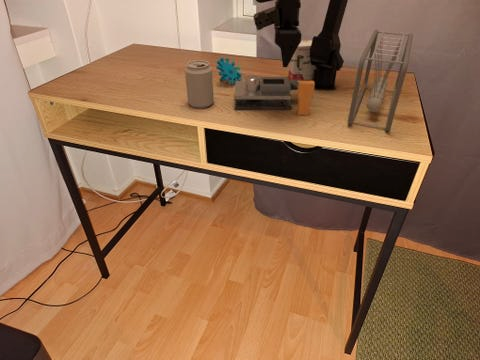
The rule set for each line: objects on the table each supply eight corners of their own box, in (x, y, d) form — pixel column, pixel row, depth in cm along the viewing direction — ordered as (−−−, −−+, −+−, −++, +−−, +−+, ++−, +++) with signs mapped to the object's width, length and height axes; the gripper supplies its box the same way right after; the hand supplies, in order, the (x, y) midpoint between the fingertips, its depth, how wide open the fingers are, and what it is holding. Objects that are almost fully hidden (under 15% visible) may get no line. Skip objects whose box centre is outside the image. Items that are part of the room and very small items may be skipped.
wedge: (309, 111, 100) (313, 80, 94) (310, 115, 98) (314, 83, 93) (295, 111, 100) (298, 80, 94) (296, 115, 98) (299, 83, 93)
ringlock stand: (305, 93, 110) (308, 70, 106) (311, 110, 100) (314, 86, 96) (236, 92, 110) (235, 70, 106) (234, 109, 101) (234, 86, 97)
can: (203, 111, 100) (200, 69, 93) (182, 105, 103) (178, 64, 96) (218, 102, 105) (217, 61, 98) (198, 96, 108) (195, 56, 101)
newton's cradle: (363, 86, 115) (375, 27, 104) (397, 91, 111) (413, 31, 101) (346, 127, 93) (359, 58, 82) (388, 135, 89) (408, 64, 79)
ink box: (292, 82, 117) (295, 45, 110) (287, 77, 120) (290, 41, 113) (317, 80, 118) (321, 44, 111) (312, 75, 122) (316, 39, 115)
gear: (229, 85, 111) (213, 57, 111) (218, 95, 115) (202, 68, 115) (250, 79, 119) (234, 53, 119) (239, 89, 123) (224, 64, 123)
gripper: (256, -10, 94) (255, 50, 104) (254, 4, 80) (253, 73, 89) (299, -10, 94) (294, 50, 103) (304, 5, 79) (298, 73, 88)
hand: (284, 61), depth 96 cm, fingers open, 9 cm apart
